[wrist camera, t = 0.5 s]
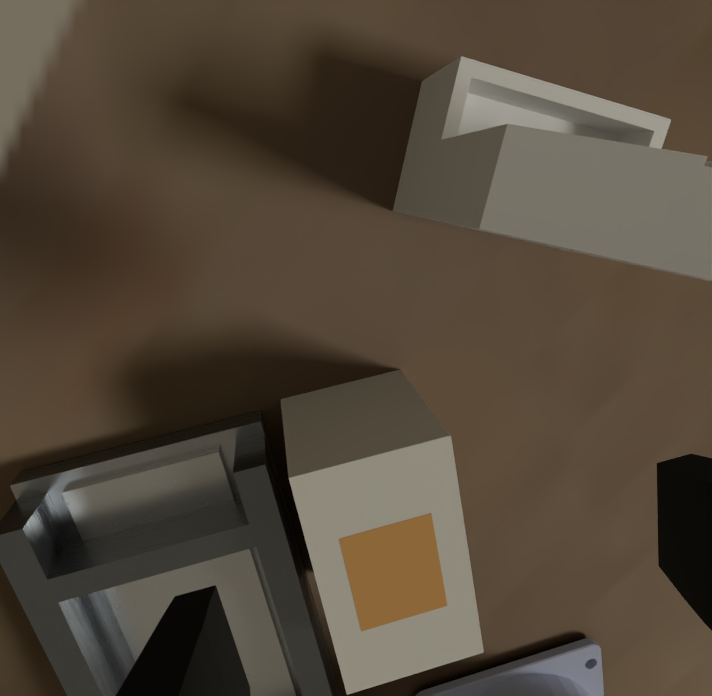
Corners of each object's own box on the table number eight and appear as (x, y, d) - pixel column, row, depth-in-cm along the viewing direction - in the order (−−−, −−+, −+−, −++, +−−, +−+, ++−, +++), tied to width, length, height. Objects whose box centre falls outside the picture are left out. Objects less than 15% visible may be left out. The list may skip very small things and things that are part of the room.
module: (430, 541, 20) (484, 652, 15) (325, 571, 20) (346, 695, 15) (399, 368, 18) (450, 435, 13) (280, 398, 17) (288, 478, 13)
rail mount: (352, 739, 22) (364, 808, 19) (170, 797, 21) (159, 878, 19) (260, 410, 17) (260, 449, 15) (21, 471, 16) (-21, 522, 14)
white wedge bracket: (733, 287, 16) (921, 326, 8) (414, 216, 19) (312, 192, 11) (784, 161, 15) (1053, 60, 7) (440, 106, 18) (351, -11, 10)
